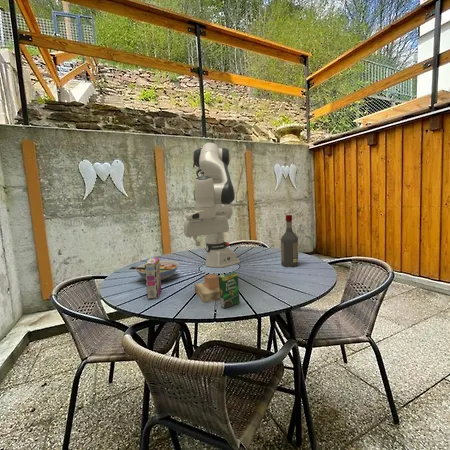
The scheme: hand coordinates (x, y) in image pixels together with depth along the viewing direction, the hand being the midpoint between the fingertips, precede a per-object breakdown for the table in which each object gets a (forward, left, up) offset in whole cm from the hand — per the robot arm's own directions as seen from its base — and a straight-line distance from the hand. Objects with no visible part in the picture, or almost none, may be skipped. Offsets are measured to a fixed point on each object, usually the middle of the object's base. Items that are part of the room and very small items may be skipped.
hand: (208, 244), depth 118 cm
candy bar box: (+23, -13, -23) cm, 35 cm away
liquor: (-57, -15, -23) cm, 64 cm away
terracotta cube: (0, +1, -20) cm, 20 cm away
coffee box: (-2, +16, -23) cm, 28 cm away
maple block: (0, +1, -24) cm, 24 cm away
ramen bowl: (+17, -35, -23) cm, 46 cm away
